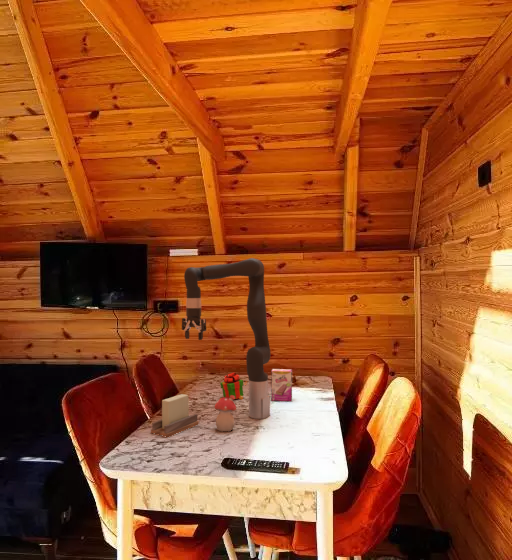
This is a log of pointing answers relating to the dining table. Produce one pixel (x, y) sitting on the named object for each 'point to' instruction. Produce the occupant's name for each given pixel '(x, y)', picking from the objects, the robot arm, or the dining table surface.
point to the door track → (174, 426)
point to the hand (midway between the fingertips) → (193, 339)
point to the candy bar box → (281, 385)
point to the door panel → (175, 409)
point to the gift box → (232, 386)
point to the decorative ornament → (225, 413)
